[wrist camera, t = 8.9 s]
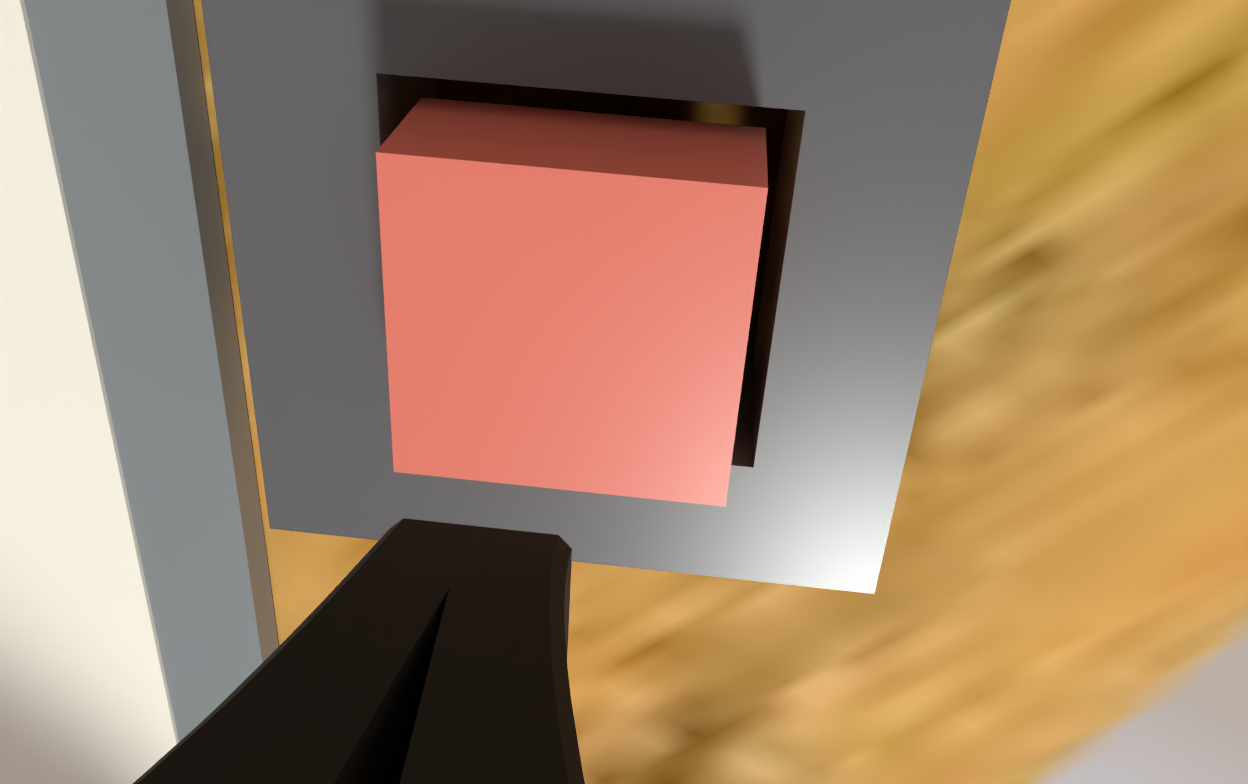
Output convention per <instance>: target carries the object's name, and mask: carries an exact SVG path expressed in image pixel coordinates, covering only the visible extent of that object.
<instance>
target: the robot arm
mask: <svg viewBox="0 0 1248 784" xmlns="http://www.w3.org/2000/svg"><path fill="white" fill-rule="evenodd" d="M571 558H572V548H571V547H570V546H569V545H568V544H567V543H566V542H565V541H564V540H563V539H562V538H561V537H560V536H559V535H555V534H546V533H536V532H527V531H518V530H508V529H499V528H490V527H480V526H471V525H462V524H452V523H443V522H434V521H424V520H415V519H406V518H403V519H402V520H401V521H399V522H398V523H396V524H395V525H394V526H392V527H391V528H390V529H389V530H388V531H387V532H386V533H385V534H384V535H383V536H382V538H381V539H380V540H379V541H378V542H377V543H376V544H375V545H374V546H373V548H372V549H371V550H370V551H369V552H368V553H367V554H366V555H365V556H364V557H363V559H362V560H361V561H360V562H359V563H358V564H357V565H356V566H355V567H354V568H353V570H352V571H351V572H350V573H349V574H348V575H347V576H346V577H345V578H344V579H343V580H342V581H341V583H340V584H339V585H338V586H337V587H336V588H335V589H334V590H333V591H332V592H331V593H330V594H329V595H328V596H327V597H326V599H325V600H324V601H323V602H322V603H321V604H320V605H319V606H318V607H317V608H316V609H315V610H314V611H313V612H312V613H311V614H310V615H309V616H308V617H307V618H306V619H305V620H304V621H303V623H302V624H301V625H300V626H299V627H298V628H297V629H296V630H295V631H294V632H293V633H292V634H291V635H290V636H289V637H288V638H287V639H286V640H285V641H284V642H283V643H282V644H281V645H280V646H279V647H278V648H277V649H276V650H275V651H274V652H273V653H272V654H271V655H270V656H269V657H268V658H267V659H266V660H265V661H264V662H263V663H262V664H261V665H260V666H259V667H258V668H257V669H256V670H255V671H254V672H253V673H251V674H250V675H249V676H248V677H247V678H246V679H245V680H244V681H243V682H242V683H241V684H240V685H239V686H238V687H237V688H236V689H235V690H234V691H233V692H232V693H231V694H230V695H229V696H228V697H227V698H226V699H225V700H224V701H223V702H222V703H221V704H220V705H219V706H218V707H217V708H216V709H215V710H214V711H213V712H212V713H210V714H209V715H208V716H207V717H206V718H205V719H204V720H203V721H202V722H201V723H200V724H199V725H198V726H197V727H195V728H194V729H193V730H192V731H191V732H190V733H189V734H188V735H186V736H185V737H184V738H183V739H182V740H181V741H180V742H179V743H178V744H176V745H175V746H174V747H173V748H172V749H171V750H170V751H169V752H167V753H166V754H165V755H164V756H163V757H162V758H161V759H160V760H158V761H157V762H156V763H155V764H154V765H153V766H152V767H151V768H150V769H148V770H147V771H146V772H145V773H144V774H143V775H142V776H141V777H139V778H138V779H137V780H136V781H135V782H134V783H133V784H585V782H584V777H583V772H582V766H581V760H580V754H579V747H578V741H577V735H576V728H575V722H574V716H573V710H572V703H571V696H570V687H569V679H568V670H567V646H568V624H569V602H570V580H571Z"/></svg>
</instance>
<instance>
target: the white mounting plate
mask: <svg viewBox="0 0 1248 784" xmlns="http://www.w3.org/2000/svg"><path fill="white" fill-rule="evenodd" d="M278 647H279V643H278V635H277V628H276V621H275V613H274V606H273V598H272V591H271V583H270V576H269V568H268V561H267V553H266V546H265V538H264V531H263V524H262V516H261V509H260V501H259V494H258V486H257V479H256V471H255V464H254V456H253V449H252V441H251V434H250V426H249V419H248V412H247V404H246V397H245V389H244V382H243V374H242V367H241V359H240V352H239V344H238V337H237V329H236V322H235V315H234V307H233V300H232V292H231V285H230V277H229V270H228V262H227V255H226V247H225V240H224V232H223V225H222V217H221V210H220V203H219V195H218V188H217V180H216V173H215V165H214V158H213V150H212V143H211V135H210V128H209V120H208V113H207V106H206V98H205V91H204V83H203V76H202V68H201V61H200V53H199V46H198V38H197V31H196V23H195V16H194V8H193V1H192V0H0V784H133V783H134V782H135V781H136V780H137V779H138V778H139V777H141V776H142V775H143V774H144V773H145V772H146V771H147V770H148V769H150V768H151V767H152V766H153V765H154V764H155V763H156V762H157V761H158V760H160V759H161V758H162V757H163V756H164V755H165V754H166V753H167V752H169V751H170V750H171V749H172V748H173V747H174V746H175V745H176V744H178V743H179V742H180V741H181V740H182V739H183V738H184V737H185V736H186V735H188V734H189V733H190V732H191V731H192V730H193V729H194V728H195V727H197V726H198V725H199V724H200V723H201V722H202V721H203V720H204V719H205V718H206V717H207V716H208V715H209V714H210V713H212V712H213V711H214V710H215V709H216V708H217V707H218V706H219V705H220V704H221V703H222V702H223V701H224V700H225V699H226V698H227V697H228V696H229V695H230V694H231V693H232V692H233V691H234V690H235V689H236V688H237V687H238V686H239V685H240V684H241V683H242V682H243V681H244V680H245V679H246V678H247V677H248V676H249V675H250V674H251V673H253V672H254V671H255V670H256V669H257V668H258V667H259V666H260V665H261V664H262V663H263V662H264V661H265V660H266V659H267V658H268V657H269V656H270V655H271V654H272V653H273V652H274V651H275V650H276V649H277V648H278Z"/></svg>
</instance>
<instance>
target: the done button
mask: <svg viewBox="0 0 1248 784" xmlns="http://www.w3.org/2000/svg"><path fill="white" fill-rule="evenodd" d="M376 165H377V183H378V201H379V219H380V237H381V254H382V272H383V290H384V308H385V326H386V343H387V361H388V379H389V397H390V415H391V432H392V450H393V468H394V472H399V473H409V474H418V475H428V476H437V477H447V478H456V479H466V480H475V481H485V482H494V483H504V484H513V485H523V486H532V487H542V488H551V489H561V490H570V491H580V492H589V493H599V494H609V495H618V496H628V497H637V498H647V499H656V500H666V501H675V502H685V503H694V504H704V505H713V506H723V507H726V500H727V493H728V485H729V478H730V470H731V463H732V455H733V447H734V440H735V432H736V425H737V417H738V410H739V402H740V395H741V387H742V380H743V372H744V365H745V357H746V350H747V342H748V335H749V327H750V320H751V312H752V305H753V297H754V290H755V282H756V275H757V267H758V260H759V252H760V245H761V237H762V230H763V222H764V215H765V207H766V200H767V192H768V173H767V147H766V128H762V127H751V126H739V125H728V124H717V123H705V122H694V121H683V120H672V119H660V118H649V117H638V116H626V115H615V114H604V113H592V112H581V111H570V110H559V109H547V108H536V107H525V106H513V105H502V104H491V103H479V102H468V101H457V100H446V99H434V98H423V97H422V98H421V99H420V100H419V101H418V102H417V104H416V105H415V106H414V107H413V108H412V110H411V111H410V112H409V113H408V114H407V116H406V117H405V118H404V119H403V120H402V121H401V123H400V124H399V125H398V126H397V127H396V129H395V130H394V131H393V132H392V133H391V135H390V136H389V137H388V138H387V139H386V141H385V142H384V143H383V144H382V145H381V147H380V148H379V149H378V150H377V151H376Z"/></svg>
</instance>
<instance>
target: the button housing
mask: <svg viewBox="0 0 1248 784" xmlns="http://www.w3.org/2000/svg"><path fill="white" fill-rule="evenodd" d="M201 1H202V9H203V16H204V24H205V32H206V39H207V47H208V55H209V63H210V70H211V78H212V86H213V93H214V101H215V109H216V116H217V124H218V132H219V140H220V147H221V155H222V163H223V170H224V178H225V186H226V193H227V201H228V209H229V216H230V224H231V232H232V240H233V247H234V255H235V263H236V270H237V278H238V286H239V293H240V301H241V309H242V317H243V324H244V332H245V340H246V347H247V355H248V363H249V370H250V378H251V386H252V393H253V401H254V409H255V417H256V424H257V432H258V440H259V447H260V455H261V463H262V470H263V478H264V486H265V493H266V501H267V509H268V517H269V524H270V528H271V529H280V530H289V531H298V532H308V533H317V534H326V535H335V536H345V537H354V538H363V539H372V540H380V539H381V538H382V536H383V535H384V534H385V533H386V532H387V531H388V530H389V529H390V528H391V527H392V526H394V525H395V524H396V523H398V522H399V521H401V520H402V519H403V518H406V519H415V520H424V521H434V522H443V523H452V524H462V525H471V526H480V527H490V528H499V529H508V530H518V531H527V532H536V533H546V534H555V535H559V536H560V537H561V538H562V539H563V540H564V541H565V542H566V543H567V544H568V545H569V546H570V547H571V548H572V558H571V561H576V562H585V563H594V564H603V565H613V566H622V567H631V568H640V569H650V570H659V571H668V572H677V573H686V574H696V575H705V576H714V577H723V578H733V579H742V580H751V581H760V582H770V583H779V584H788V585H797V586H807V587H816V588H825V589H834V590H843V591H853V592H862V593H871V594H874V593H875V589H876V584H877V580H878V576H879V571H880V567H881V563H882V558H883V554H884V549H885V545H886V541H887V536H888V532H889V528H890V523H891V519H892V515H893V510H894V506H895V502H896V497H897V493H898V489H899V484H900V480H901V476H902V471H903V467H904V463H905V458H906V454H907V450H908V445H909V441H910V436H911V432H912V428H913V423H914V419H915V415H916V410H917V406H918V402H919V397H920V393H921V389H922V384H923V380H924V376H925V371H926V367H927V363H928V358H929V354H930V350H931V345H932V341H933V337H934V332H935V328H936V323H937V319H938V315H939V310H940V306H941V302H942V297H943V293H944V289H945V284H946V280H947V276H948V271H949V267H950V263H951V258H952V254H953V250H954V245H955V241H956V237H957V232H958V228H959V224H960V219H961V215H962V211H963V206H964V202H965V197H966V193H967V189H968V184H969V180H970V176H971V171H972V167H973V163H974V158H975V154H976V150H977V145H978V141H979V137H980V132H981V128H982V124H983V119H984V115H985V111H986V106H987V102H988V98H989V93H990V89H991V84H992V80H993V76H994V71H995V67H996V63H997V58H998V54H999V50H1000V45H1001V41H1002V37H1003V32H1004V28H1005V24H1006V19H1007V15H1008V11H1009V6H1010V2H1011V0H201ZM438 79H449V80H460V81H472V82H483V83H494V84H506V85H517V86H529V87H540V88H552V89H563V90H574V91H586V92H597V93H609V94H620V95H631V96H643V97H654V98H666V99H677V100H689V101H700V102H711V103H723V104H734V105H746V106H757V107H768V108H780V109H787V116H786V123H785V130H784V138H783V145H782V152H781V160H780V167H779V174H778V181H777V189H776V196H775V203H774V210H773V218H772V225H771V232H770V240H769V247H768V254H767V261H766V269H765V276H764V283H763V291H762V298H761V305H760V312H759V320H758V327H757V334H756V341H755V349H754V356H753V360H745V365H744V372H743V380H742V387H741V395H740V402H739V410H738V417H737V425H736V432H735V440H734V447H733V455H732V463H731V470H730V478H729V485H728V493H727V500H726V507H723V506H713V505H704V504H694V503H685V502H675V501H666V500H656V499H647V498H637V497H628V496H618V495H609V494H599V493H589V492H580V491H570V490H561V489H551V488H542V487H532V486H523V485H513V484H504V483H494V482H485V481H475V480H466V479H456V478H447V477H437V476H428V475H418V474H409V473H399V472H394V468H393V450H392V432H391V415H390V397H389V379H388V361H387V343H386V326H385V308H384V290H383V272H382V254H381V237H380V219H379V201H378V183H377V165H376V151H377V150H378V149H379V148H380V147H381V145H382V144H383V143H384V142H385V141H386V139H387V138H388V137H389V136H390V135H391V133H392V132H393V131H394V130H395V129H396V127H397V126H398V125H399V124H400V123H401V121H402V120H403V119H404V118H405V117H406V116H407V114H408V113H409V112H410V111H411V110H412V108H413V107H414V106H415V105H416V104H417V102H418V101H419V100H420V99H421V98H422V97H423V98H434V99H439V88H438Z"/></svg>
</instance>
